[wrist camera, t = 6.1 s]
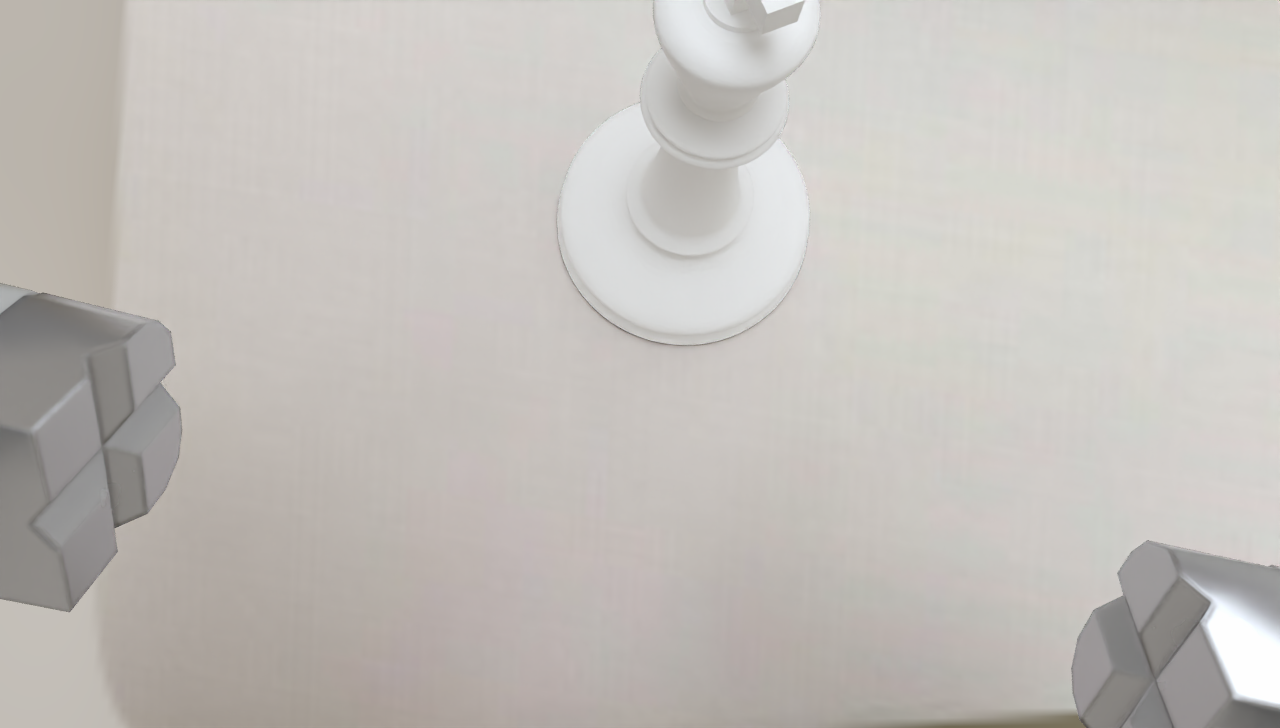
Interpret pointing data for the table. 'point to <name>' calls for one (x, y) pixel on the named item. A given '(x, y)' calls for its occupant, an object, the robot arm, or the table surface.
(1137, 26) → the table surface
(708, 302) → the chess piece
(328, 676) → the table surface
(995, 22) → the table surface
